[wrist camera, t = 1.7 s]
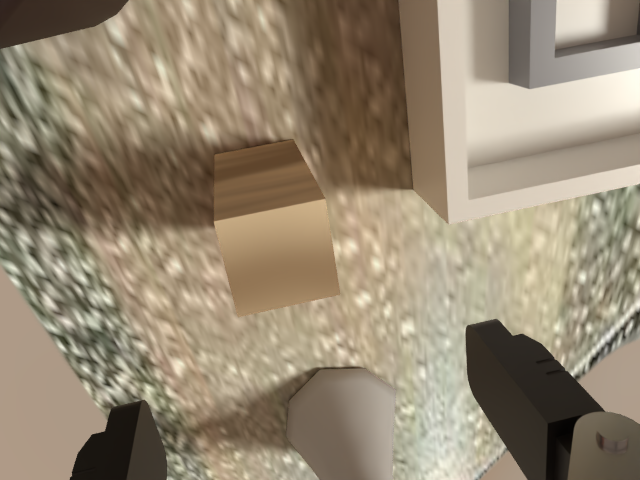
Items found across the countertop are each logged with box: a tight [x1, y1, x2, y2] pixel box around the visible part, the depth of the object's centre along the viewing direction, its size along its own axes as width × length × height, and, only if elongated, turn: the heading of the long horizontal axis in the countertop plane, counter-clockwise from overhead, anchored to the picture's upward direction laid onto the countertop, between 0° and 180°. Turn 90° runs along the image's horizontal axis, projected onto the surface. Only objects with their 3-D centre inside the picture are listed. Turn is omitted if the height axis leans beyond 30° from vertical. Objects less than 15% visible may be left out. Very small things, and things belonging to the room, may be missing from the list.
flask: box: [286, 368, 396, 480], centre depth 31 cm, size 7×7×10 cm
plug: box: [214, 139, 340, 317], centre depth 24 cm, size 4×4×9 cm
